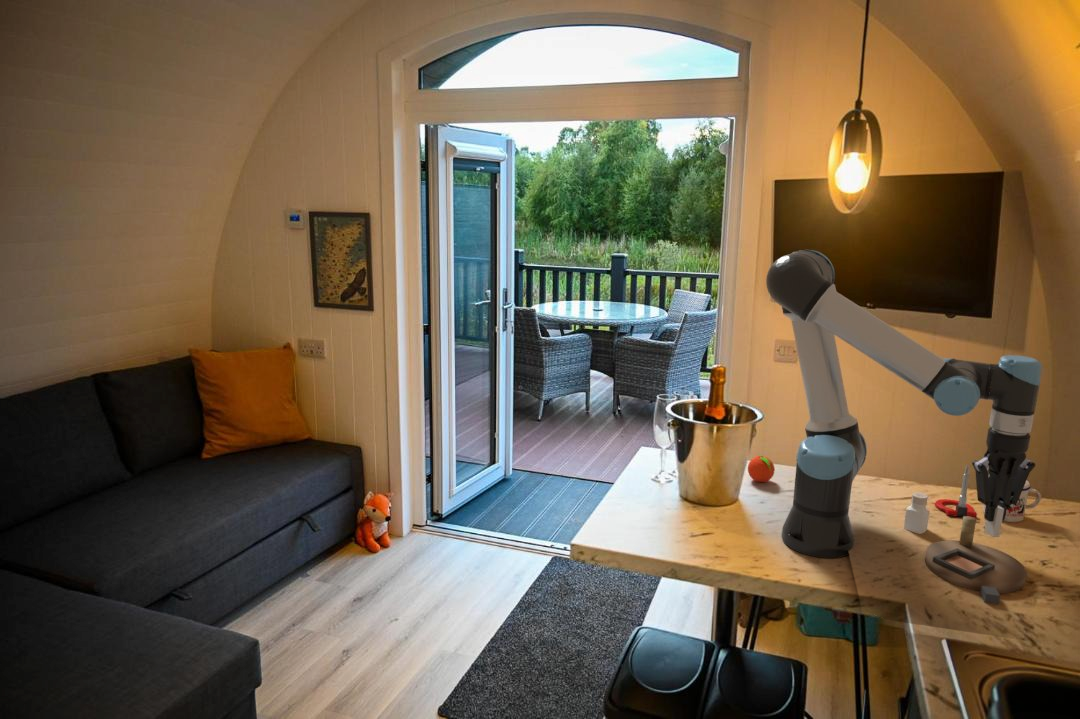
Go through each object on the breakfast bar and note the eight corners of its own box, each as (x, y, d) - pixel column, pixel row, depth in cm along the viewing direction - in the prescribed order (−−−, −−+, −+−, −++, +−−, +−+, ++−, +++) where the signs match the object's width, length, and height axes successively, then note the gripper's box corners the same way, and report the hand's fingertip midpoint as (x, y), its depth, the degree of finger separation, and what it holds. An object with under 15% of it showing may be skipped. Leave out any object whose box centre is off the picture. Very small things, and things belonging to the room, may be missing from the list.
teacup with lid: (988, 521, 180) (995, 475, 178) (976, 505, 189) (983, 461, 186) (1044, 526, 178) (1052, 480, 175) (1029, 510, 186) (1037, 466, 184)
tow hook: (929, 502, 192) (943, 516, 183) (936, 453, 189) (950, 465, 180) (965, 504, 190) (980, 519, 181) (972, 455, 188) (987, 468, 179)
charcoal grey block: (983, 607, 144) (985, 593, 143) (979, 599, 147) (981, 585, 146) (997, 609, 143) (1000, 595, 143) (993, 601, 146) (995, 587, 145)
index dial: (934, 585, 149) (940, 548, 148) (917, 543, 166) (921, 510, 164) (1038, 599, 145) (1045, 561, 143) (1009, 555, 162) (1015, 521, 160)
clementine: (781, 486, 200) (783, 461, 198) (757, 489, 198) (759, 463, 196) (764, 475, 207) (766, 450, 205) (741, 477, 205) (743, 453, 204)
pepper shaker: (919, 539, 171) (924, 500, 169) (901, 532, 174) (907, 494, 172) (927, 534, 174) (932, 495, 171) (910, 527, 177) (915, 490, 174)
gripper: (993, 437, 152) (975, 543, 158) (1052, 435, 154) (1032, 540, 160) (968, 425, 159) (952, 527, 165) (1024, 423, 161) (1006, 524, 167)
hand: (991, 534), depth 162 cm, fingers closed
